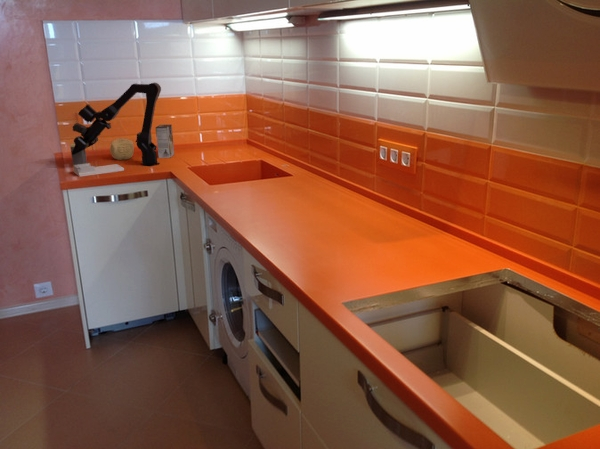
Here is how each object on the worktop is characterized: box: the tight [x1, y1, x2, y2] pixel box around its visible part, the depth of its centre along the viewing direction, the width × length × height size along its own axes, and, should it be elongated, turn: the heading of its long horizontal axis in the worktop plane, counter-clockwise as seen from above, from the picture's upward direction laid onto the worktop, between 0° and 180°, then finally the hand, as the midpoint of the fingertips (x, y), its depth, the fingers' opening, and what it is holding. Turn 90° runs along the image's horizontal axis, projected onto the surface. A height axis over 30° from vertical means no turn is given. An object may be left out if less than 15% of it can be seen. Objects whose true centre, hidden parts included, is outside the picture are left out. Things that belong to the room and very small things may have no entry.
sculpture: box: [109, 137, 135, 161], centre depth 281 cm, size 12×12×11 cm
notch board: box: [72, 162, 125, 178], centre depth 255 cm, size 20×11×4 cm, turn 124°
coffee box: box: [155, 124, 175, 159], centre depth 285 cm, size 9×6×16 cm
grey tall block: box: [69, 142, 88, 168], centre depth 265 cm, size 5×5×11 cm
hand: (75, 152), depth 265 cm, fingers open, 9 cm apart
